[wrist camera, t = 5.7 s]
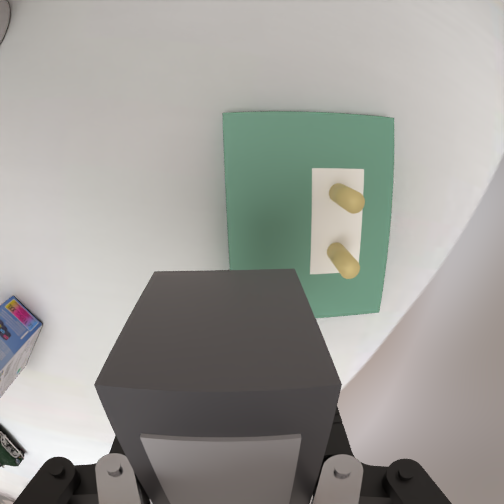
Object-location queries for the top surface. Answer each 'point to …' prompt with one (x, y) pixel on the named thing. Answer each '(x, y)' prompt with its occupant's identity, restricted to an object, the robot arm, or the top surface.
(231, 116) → the board
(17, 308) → the ink cartridge box
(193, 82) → the top surface
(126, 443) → the block
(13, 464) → the miniature car
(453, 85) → the top surface
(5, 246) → the top surface
